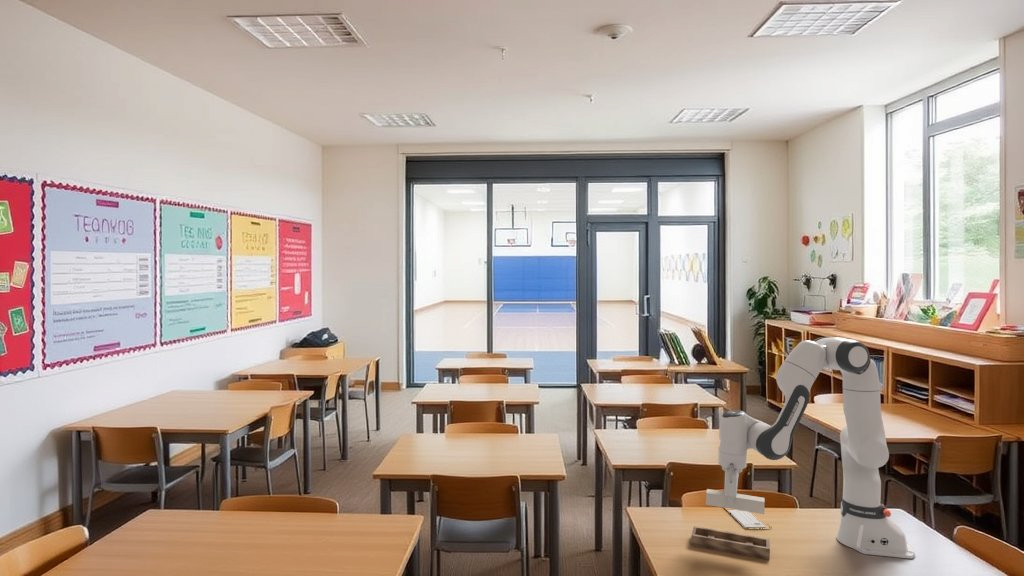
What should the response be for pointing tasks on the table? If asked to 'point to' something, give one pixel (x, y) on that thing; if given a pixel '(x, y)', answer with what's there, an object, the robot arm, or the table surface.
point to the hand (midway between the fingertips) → (730, 501)
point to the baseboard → (746, 519)
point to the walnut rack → (731, 542)
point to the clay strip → (736, 501)
